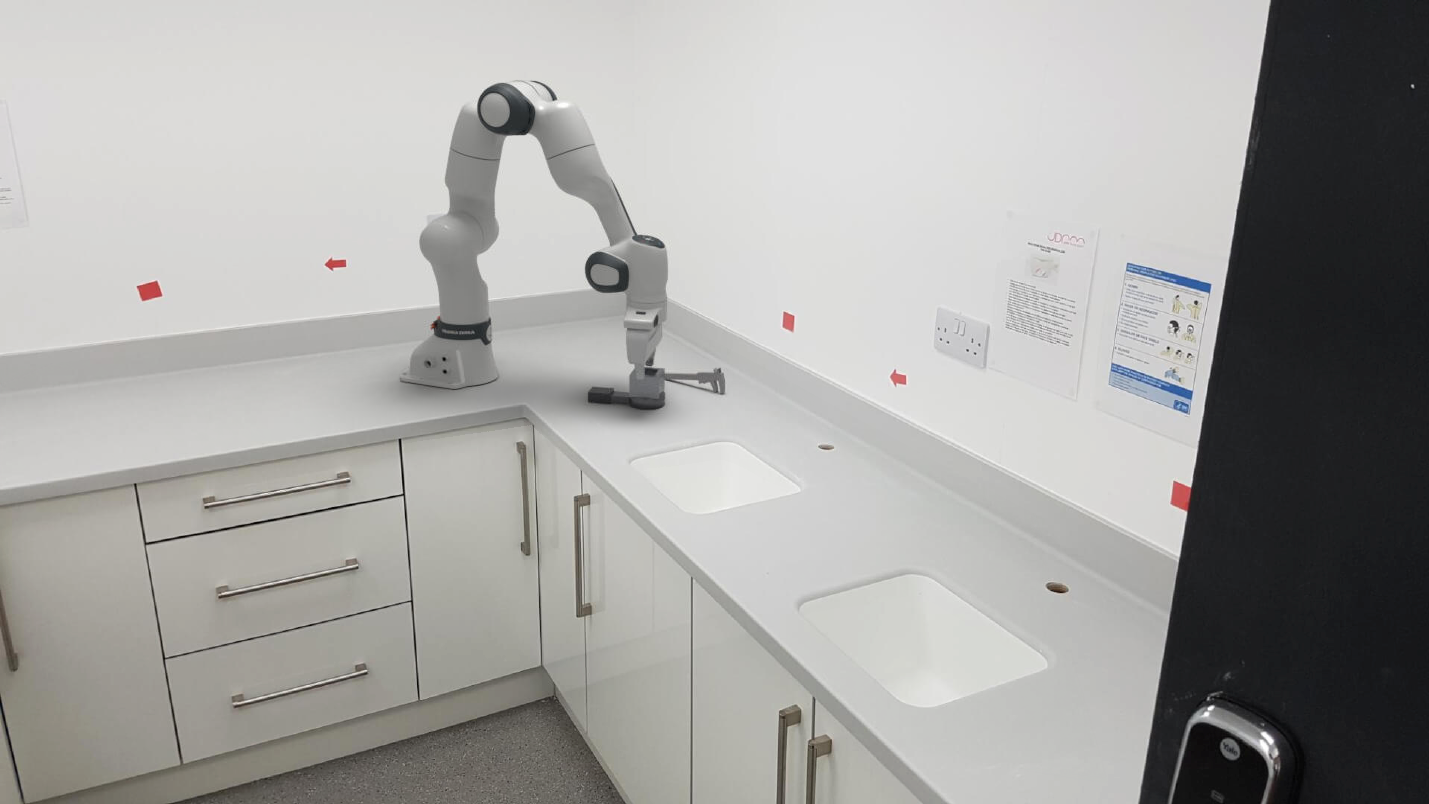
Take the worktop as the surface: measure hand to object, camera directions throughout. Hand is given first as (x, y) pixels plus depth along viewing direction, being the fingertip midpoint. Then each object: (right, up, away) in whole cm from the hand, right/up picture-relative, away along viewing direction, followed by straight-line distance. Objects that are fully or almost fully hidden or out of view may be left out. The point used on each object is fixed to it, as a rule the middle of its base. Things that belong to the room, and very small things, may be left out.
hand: (645, 372), depth 242 cm
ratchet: (-4, -7, +3) cm, 8 cm away
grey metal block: (0, -5, +2) cm, 5 cm away
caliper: (+9, -3, +16) cm, 18 cm away
